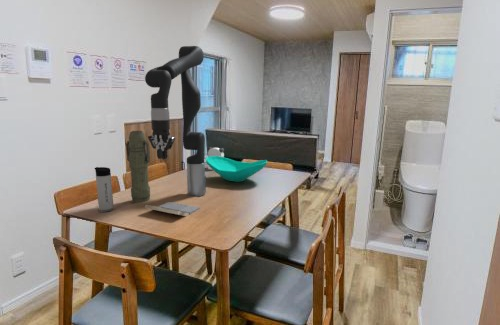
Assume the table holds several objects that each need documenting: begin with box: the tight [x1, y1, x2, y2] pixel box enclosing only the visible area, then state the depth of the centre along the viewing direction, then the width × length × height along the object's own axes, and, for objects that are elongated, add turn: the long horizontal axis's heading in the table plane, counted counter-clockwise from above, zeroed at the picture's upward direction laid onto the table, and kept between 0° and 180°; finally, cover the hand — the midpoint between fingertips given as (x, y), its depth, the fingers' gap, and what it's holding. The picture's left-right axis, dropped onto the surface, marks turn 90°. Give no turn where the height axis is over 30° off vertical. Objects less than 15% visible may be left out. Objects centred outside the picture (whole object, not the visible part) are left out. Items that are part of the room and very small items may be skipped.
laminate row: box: [157, 201, 201, 215], centre depth 153 cm, size 8×18×2 cm, turn 64°
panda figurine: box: [207, 146, 225, 171], centre depth 237 cm, size 12×11×15 cm
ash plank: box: [144, 204, 190, 217], centre depth 146 cm, size 8×18×2 cm, turn 64°
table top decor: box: [205, 156, 268, 183], centre depth 205 cm, size 40×28×13 cm
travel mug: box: [94, 166, 115, 213], centre depth 151 cm, size 6×7×20 cm
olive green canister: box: [125, 130, 151, 204], centre depth 162 cm, size 9×12×35 cm
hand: (162, 158), depth 144 cm, fingers closed
